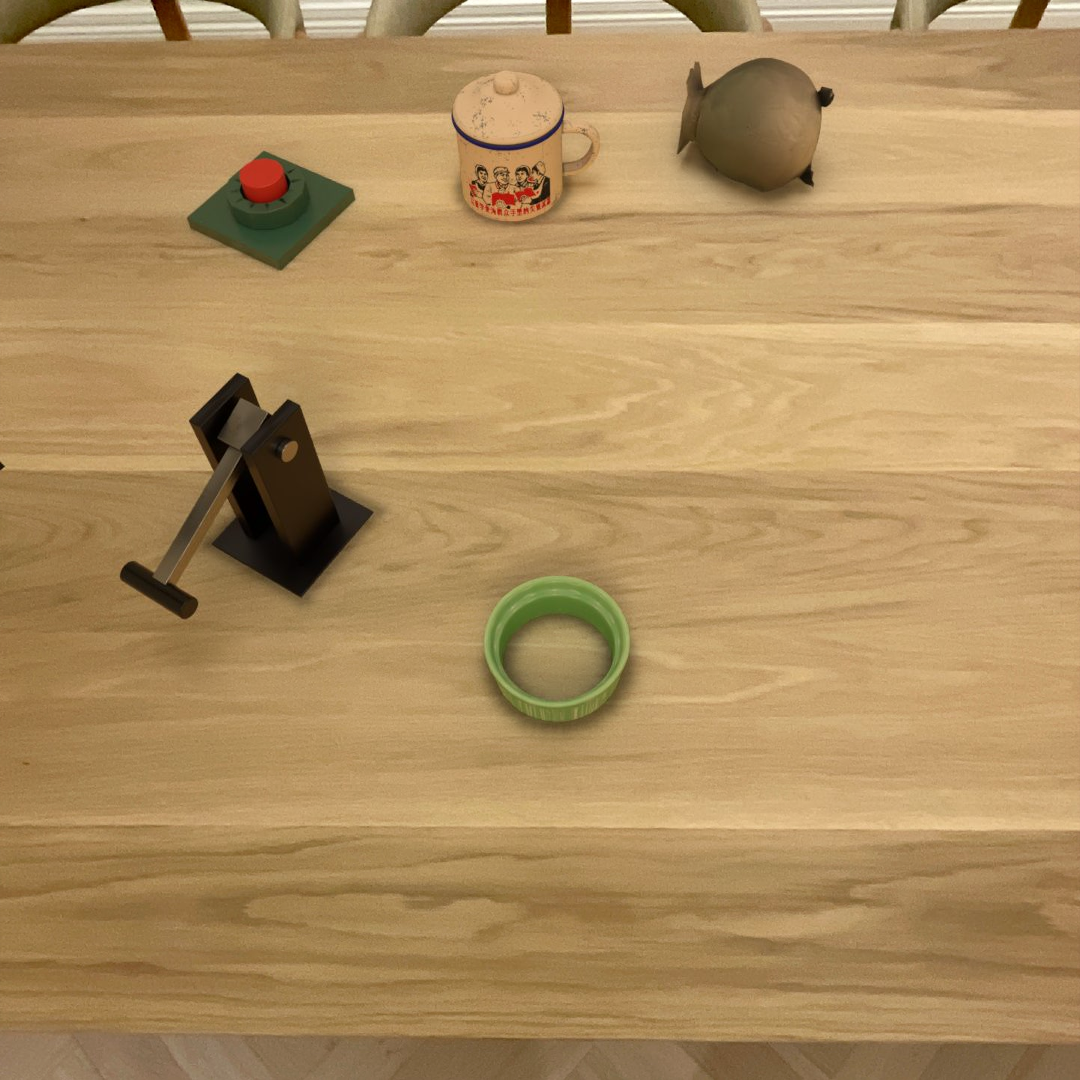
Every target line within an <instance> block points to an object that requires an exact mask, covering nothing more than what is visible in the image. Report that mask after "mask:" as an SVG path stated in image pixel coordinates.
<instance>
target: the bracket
mask: <svg viewBox="0 0 1080 1080" xmlns="http://www.w3.org/2000/svg"><path fill="white" fill-rule="evenodd" d="M240 398H242V399H244V400H246V401H248V402H250V403H252V404H254V405H256V406H258V407H259V408H261V409H262V407H261V404H260V403H259V400H258V397H257V394H256V392H255V390H254V387H253V385H252V382H251V380H250V378H249V377H247V376H245V375H244V374H241V373H240V372H236V373H235V374H234V375H233V376H231V378H230V379H229V380H228V381H227V382H225V383H224V384H223V386H222V387H221V388H219V389H218V390H217V392H215V394H213V395H212V396H211V398H209V400H207V401H206V403H204V404H203V405H202V406H201V407H200V408H199V409H198V411H197V412H195V414H193V416H191V417H190V418H189V420H188V423H189V425H190V427H191V429H192V431H193V433H194V435H195V437H196V439H197V441H198V443H199V445H200V447H201V450H202V451H203V453H204V455H205V457H206V459H207V461H208V463H209V465H210V467H211V469H212V471H213V472H214V471H215V470H216V468H217V466H218V464H219V463H220V461H221V459H222V458H223V456H224V454H225V453H226V451H227V449H228V448H229V446H230V445H228V444H227V443H225V442H223V441H222V440H220V439H218V438H217V437H218V435H219V433H220V432H221V430H222V428H223V427H224V425H225V423H226V422H227V420H228V418H229V417H230V415H231V413H232V412H233V410H234V408H235V406H236V405H237V403H238V401H239V400H240ZM240 450H241V453H242V455H243V457H244V459H245V462H246V464H247V465H246V467H245V468H244V470H243V472H242V473H241V475H240V477H239V478H238V480H237V482H236V484H235V485H234V487H233V489H232V490H231V492H230V494H229V495H228V497H227V499H226V500H227V502H228V504H229V505H230V507H231V510H232V511H233V514H234V515H235V517H234V519H233V520H232V521H231V522H230V523H229V524H228V525H227V526H226V527H225V528H224V529H223V531H221V533H219V535H218V536H217V537H216V538H215V539H214V540H213V541H212V542H211V546H213V547H214V548H215V549H218V550H219V551H221V552H223V553H225V554H226V555H228V556H230V557H231V558H233V559H235V560H237V561H238V562H239V563H241V564H244V565H245V566H247V567H248V568H249V569H251V570H253V571H255V572H256V573H258V574H260V575H262V576H263V577H265V578H267V579H268V580H270V581H271V582H274V583H275V584H277V585H279V586H280V587H282V588H283V589H285V590H287V591H289V592H290V593H292V594H294V595H295V596H297V597H299V598H303V596H304V595H305V594H306V593H307V592H308V591H309V590H310V589H311V587H312V586H313V585H314V584H315V583H316V581H317V580H318V579H319V577H321V576H322V574H323V573H324V572H325V571H326V570H327V568H328V567H329V566H330V565H331V564H332V562H333V561H334V560H335V559H336V558H337V557H338V556H339V554H340V553H341V552H342V551H343V550H344V548H345V547H346V546H347V545H348V544H349V543H350V541H352V539H353V538H354V536H355V535H356V534H357V533H358V532H359V531H360V530H361V528H362V527H363V526H364V525H365V524H366V522H368V521H369V519H370V518H371V517H372V516H373V514H374V511H373V510H371V509H370V508H368V507H366V506H363V504H360V503H358V502H357V501H356V500H355V501H354V500H353V499H351V498H349V497H347V496H345V495H344V494H342V493H340V492H339V491H336V490H335V489H333V488H331V487H329V484H328V481H327V479H326V476H325V475H326V474H325V473H324V469H323V466H322V464H321V461H320V458H319V455H318V452H317V450H316V446H315V444H314V440H313V438H312V436H311V432H310V430H309V426H308V424H307V421H306V418H305V415H304V412H303V410H302V406H301V405H300V404H299V403H297V402H295V401H293V400H291V399H290V398H287V399H286V400H285V401H284V402H283V403H282V404H281V405H280V406H279V407H278V408H277V409H276V410H275V411H274V413H273V414H272V416H271V417H270V418H269V419H268V420H267V421H266V422H265V423H264V424H263V425H262V426H261V427H260V428H259V429H258V430H257V431H256V432H255V433H254V434H253V435H252V436H251V438H250V439H249V440H248V441H247V442H246V443H245V444H244V445H243V446H242V447H241V448H240Z"/></svg>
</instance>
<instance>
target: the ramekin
mask: <svg viewBox="0 0 1080 1080" xmlns="http://www.w3.org/2000/svg"><path fill="white" fill-rule="evenodd" d="M547 615H569V616H573V617H576V618H579V619H581V620H584V621H585V622H587V623H588V624H590V625H592V626H593V627H594V628H595V629H596V630H597V631H598V632H599V633H601V635H602V636H603V638H604V639H605V641H606V643H607V645H608V647H609V650H610V654H611V666H610V668H609V669H608V672H607V673H606V675H605V676H604V677H603V679H602V680H600V682H598V684H597V685H596V686H595V687H593V688H592V689H590V690H589V691H586V692H585V693H582V694H581V695H578V696H576V697H572V698H567V699H561V700H560V699H559V700H550V699H545V698H542V697H541V698H540V697H536V696H534V695H531V694H529V693H527V692H525V691H524V690H522V689H521V688H520V687H518V686H517V685H516V684H515V683H514V682H513V681H512V680H511V679H510V677H509V676H508V674H507V673H506V671H505V669H504V654H505V651H506V648H507V646H508V643H509V641H510V640H511V639H512V637H513V636H514V634H515V633H516V632H517V631H518V630H519V629H520V628H521V627H523V626H524V625H525V624H527V623H528V622H530V621H533V620H534V619H536V618H539V617H543V616H547ZM629 627H630V626H629V624H628V620H627V618H626V615H625V614H624V612H623V611H622V608H621V607H620V606H619V604H618V603H617V602H616V600H615V599H614V598H613V597H612V596H611V595H609V593H607V592H606V591H605V590H604V589H602V588H601V587H600V586H598V585H596V584H594V583H592V582H590V581H587V580H585V579H582V578H580V577H575V576H570V575H557V574H554V575H545V576H540V577H536V578H533V579H530V580H526V581H524V582H523V583H521V584H519V585H517V586H515V587H514V588H511V590H510V591H508V592H507V593H505V595H503V596H502V597H501V598H500V600H499V601H498V602H497V603H496V604H495V606H494V607H493V609H492V610H491V612H490V613H489V616H488V618H487V620H486V624H485V627H484V632H483V642H482V643H483V652H484V653H483V654H484V658H485V661H486V664H487V666H488V669H489V671H490V673H491V674H492V677H493V678H494V679H495V680H496V683H497V687H498V688H499V690H500V691H501V693H502V696H503V697H505V698H506V700H507V701H508V702H509V703H510V704H511V705H512V706H513V707H514V708H516V709H517V710H518V711H519V712H521V713H523V714H525V715H527V716H529V717H532V718H533V719H537V720H542V721H545V722H556V723H558V722H564V723H565V722H570V721H575V720H577V719H580V718H583V717H585V716H588V715H590V714H592V713H593V712H595V711H596V710H598V709H599V708H600V707H602V705H604V704H605V703H606V702H607V701H608V699H609V698H610V697H611V696H612V694H613V693H614V692H615V690H616V689H617V685H618V683H619V682H620V678H621V674H622V672H623V671H624V670H625V666H626V664H627V662H628V659H629V654H630V650H631V634H630V628H629Z"/></svg>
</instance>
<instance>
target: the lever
mask: <svg viewBox="0 0 1080 1080" xmlns="http://www.w3.org/2000/svg"><path fill="white" fill-rule="evenodd" d="M272 415H273V414H272V413H270V412H269V411H267V410H265V409H263V408H262V407H261V408H259V407H258V406H256V405H254V404H252V403H250V402H248V401H246V400H244V399H242V398H240V400H239V401H238V403H237V405H236V406H235V408H234V410H233V412H232V413H231V415H230V417H229V418H228V420H227V422H226V423H225V425H224V427H223V428H222V430H221V432H220V433H219V435H218V437H217V438H218V439H220V440H222V441H223V442H225V443H227V444H228V445H230V446H229V448H228V449H227V451H226V453H225V454H224V456H223V458H222V459H221V461H220V463H219V464H218V466H217V468H216V470H215V471H213V473H212V475H211V477H210V478H209V479H208V480H207V481H208V482H207V483H206V484H205V486H204V488H203V490H202V491H201V494H200V495H199V497H198V498H197V500H196V502H195V503H194V505H193V507H192V508H191V510H190V512H189V514H188V515H187V517H186V519H185V520H184V521H183V524H182V525H181V527H180V529H179V530H178V532H177V534H176V536H175V537H174V539H173V541H172V543H171V544H170V545H169V547H168V549H167V551H166V552H165V554H164V556H163V558H162V559H161V561H160V563H159V564H158V566H157V567H156V569H155V571H153V570H151V569H150V568H148V567H146V566H144V564H141V563H140V562H139V561H137V560H130V561H128V562H126V563H125V564H124V565H123V567H122V568H121V570H120V571H119V579H120V581H121V582H122V583H124V584H125V585H127V586H129V587H130V588H132V589H134V590H135V591H137V592H138V593H140V594H141V595H143V596H145V597H146V598H148V599H150V600H151V601H153V602H154V603H156V604H157V605H159V606H160V607H162V608H163V609H165V610H167V611H169V612H170V613H172V614H173V615H175V616H176V617H178V618H180V619H181V620H188V619H189V618H191V617H192V616H193V615H194V614H195V613H196V611H197V610H198V607H199V600H198V598H196V597H195V596H193V595H192V594H190V593H188V592H187V591H185V590H184V589H182V588H180V587H179V586H177V584H178V582H179V581H180V579H181V577H182V575H183V573H184V572H185V570H186V569H187V567H188V566H189V564H190V562H191V560H192V558H193V557H194V555H195V554H196V552H197V550H198V549H199V546H200V545H201V544H202V542H203V540H204V538H205V537H206V534H207V533H208V531H209V530H210V528H211V526H212V524H213V523H214V521H215V520H216V517H217V516H218V514H219V512H220V511H221V509H222V508H223V506H224V504H225V502H226V501H227V500H228V499H227V497H228V495H229V494H230V492H231V490H232V489H233V487H234V485H235V484H236V482H237V480H238V478H239V477H240V475H241V473H242V472H243V470H244V468H245V467H246V465H247V464H246V462H245V459H244V457H243V455H242V453H241V450H240V448H241V447H242V446H243V445H244V444H245V443H246V442H247V441H248V440H249V439H250V438H251V436H252V435H253V434H254V433H255V432H256V431H257V430H258V429H259V428H260V427H261V426H262V425H263V424H264V423H265V422H266V421H267V420H268V419H269V418H270V417H271V416H272Z"/></svg>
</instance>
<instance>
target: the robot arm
mask: <svg viewBox="0 0 1080 1080" xmlns="http://www.w3.org/2000/svg"><path fill="white" fill-rule="evenodd" d="M5 468H6V465H4V464H3V462H1V461H0V472H1V471H2V470H3V469H5Z"/></svg>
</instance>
